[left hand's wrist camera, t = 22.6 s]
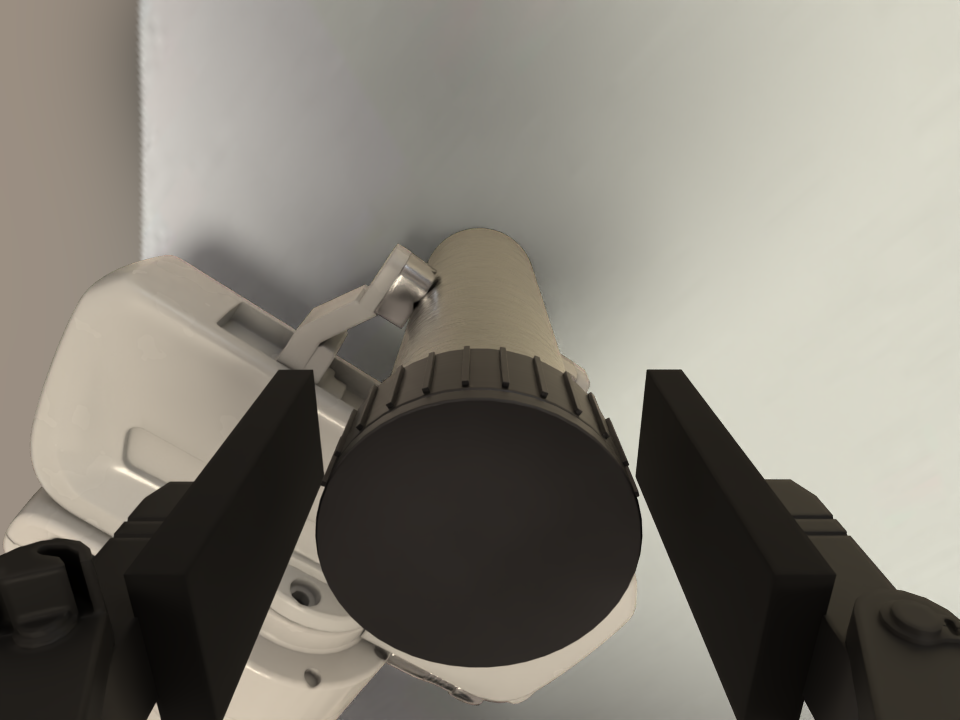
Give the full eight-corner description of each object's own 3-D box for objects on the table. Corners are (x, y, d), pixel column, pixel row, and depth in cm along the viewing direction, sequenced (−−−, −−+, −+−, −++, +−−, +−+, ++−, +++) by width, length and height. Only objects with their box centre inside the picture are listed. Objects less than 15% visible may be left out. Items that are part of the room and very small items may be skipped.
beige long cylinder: (523, 341, 27) (577, 627, 12) (418, 326, 27) (342, 600, 12) (543, 236, 25) (632, 421, 11) (431, 220, 25) (362, 384, 10)
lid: (308, 547, 13) (276, 627, 11) (380, 302, 11) (359, 346, 9) (558, 614, 14) (571, 702, 12) (667, 395, 12) (705, 455, 10)
